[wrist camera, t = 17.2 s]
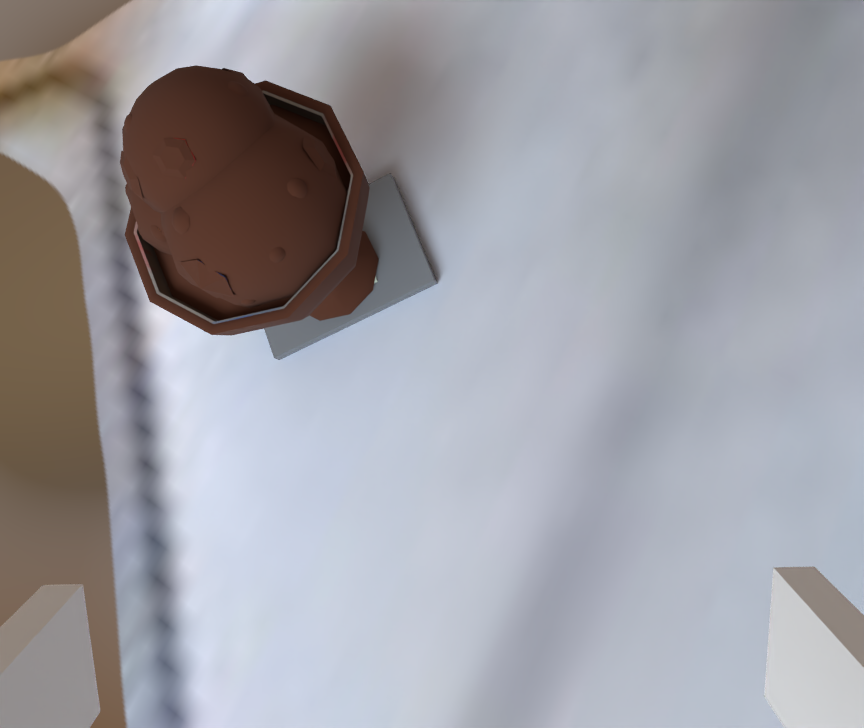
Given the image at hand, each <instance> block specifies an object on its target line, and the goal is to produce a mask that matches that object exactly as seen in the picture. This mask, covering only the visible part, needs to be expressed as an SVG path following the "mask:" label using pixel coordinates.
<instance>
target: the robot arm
mask: <svg viewBox="0 0 864 728" xmlns="http://www.w3.org/2000/svg"><path fill="white" fill-rule="evenodd" d="M764 697H765V698H766V700H767V702H768V703H769V705H770V706H771V708H772V709H773V711H774V712H775V714H776V715H777V717H778V718H779V720H780V722H781V723H782V725H783V726H784V728H864V615H863V614H862V613H861V612H860V611H859V610H858V609H857V608H856V607H855V606H854V605H853V604H852V603H851V602H850V601H849V600H848V599H847V598H846V597H845V596H844V595H842V594H841V593H840V592H839V591H838V590H837V589H836V588H835V587H834V586H833V585H832V584H831V583H830V582H829V581H828V580H827V579H826V578H825V577H824V576H823V575H822V574H821V573H820V572H819V571H818V570H817V569H816V568H815V567H779V568H773V582H772V596H771V610H770V624H769V638H768V652H767V666H766V679H765V693H764ZM99 712H100V706H99V698H98V691H97V684H96V676H95V669H94V662H93V655H92V648H91V641H90V633H89V626H88V619H87V612H86V605H85V597H84V590H83V584H75V585H73V584H71V585H43V586H42V587H41V588H40V589H39V590H38V591H37V592H36V593H35V594H34V595H32V597H31V598H30V599H28V600H27V601H26V602H25V603H24V604H23V605H22V606H21V607H20V608H19V609H18V610H17V611H16V613H14V614H13V615H12V616H11V617H10V618H9V619H8V620H7V621H6V622H5V624H3V625H2V626H1V627H0V728H90V726H91V725H92V723H93V722H94V720H95V719H96V717H97V715H98V714H99Z"/></svg>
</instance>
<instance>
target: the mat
mask: <svg viewBox="0 0 864 728" xmlns="http://www.w3.org/2000/svg"><path fill="white" fill-rule="evenodd" d="M369 187H370V189H369V196H368V203H367V208H366V214H365V219H364V224H363V229H362V231H365V232H366V234H367V236H368V238H369V240H370V242H371V244H372V246H373V248H374V250H375V252H376V254H377V256H378V258H379V259H378V265H377V270H376V276H375V281H374V286H373V291H372V292H371V293H370V294H369V295H368V296H367V297H366V298H365V299H364V300H363V301H362V302H361V303H360V304H359V305H358V306H357V308H356V309H355V310H354V311H353V312H352V313H351V314H349V315H344V316H340V317H335V318H331V319H326V320H321V321H319V320H317V319H315V318H313V317H311V316H308V317H306V318H304V319H303V320H300V321H295V322H291V323H286V324H281V325H277V326H272V327H268V328H264V329H265V332H266V335H267V338H268V341H269V344H270V347H271V350H272V353H273V356H274V358H276V359H278V360H280V359H282V358H284V357H286V356H288V355H290V354H293V353H295V352H297V351H299V350H301V349H303V348H305V347H307V346H309V345H311V344H313V343H315V342H317V341H319V340H321V339H324V338H326V337H328V336H330V335H332V334H334V333H336V332H338V331H340V330H342V329H344V328H346V327H348V326H350V325H352V324H355V323H357V322H359V321H361V320H363V319H365V318H367V317H369V316H371V315H373V314H375V313H377V312H379V311H381V310H383V309H386V308H388V307H390V306H392V305H394V304H396V303H398V302H400V301H402V300H404V299H406V298H408V297H410V296H412V295H415V294H417V293H419V292H421V291H423V290H425V289H427V288H429V287H431V286H433V285H435V284H437V281H436V278H435V276H434V273H433V271H432V269H431V266H430V264H429V261H428V259H427V257H426V254H425V252H424V249H423V247H422V245H421V242H420V240H419V237H418V235H417V232H416V230H415V228H414V225H413V223H412V220H411V218H410V216H409V213H408V211H407V208H406V206H405V204H404V201H403V199H402V196H401V194H400V192H399V189H398V187H397V184H396V182H395V180H394V177H393V176H392V175H391V174H388V175H386V176H384V177H382V178H380V179H378V180H376V181H374V182H373V183H371V184H369Z"/></svg>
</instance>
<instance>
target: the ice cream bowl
mask: <svg viewBox="0 0 864 728" xmlns="http://www.w3.org/2000/svg"><path fill="white" fill-rule="evenodd" d="M122 130H123V151H121V159H120V164H121V168H122V172H123V175H124V177H125V179H126V182H127V185H126V187H125V189H126V194H127V196H128V199H129V202H130V204H131V210H130V215H129V219H128V223H127V228H126V232H125V237H126V239H127V242H128V245H129V247H130V250H131V253H132V255H133V258H134V260H135V263H136V266H137V268H138V271H139V274H140V276H141V279H142V282H143V284H144V287H145V290H146V292H147V295H148V298H149V300H150V302H152V303H154V304H156V305H158V306H159V307H161V308H163V309H165V310H167V311H169V312H170V313H172V314H174V315H176V316H178V317H180V318H182V319H183V320H185V321H187V322H189V323H191V324H193V325H195V326H196V327H198V328H200V329H202V330H204V331H206V332H208V333H209V334H211V335H235V334H240V333H245V332H249V331H254V330H258V329H263V328H268V327H272V326H277V325H281V324H286V323H291V322H295V321H300V320H303V319H304V318H306V317H308V316H311V317H313V318H315V319H317V320H319V321H321V320H326V319H331V318H335V317H340V316H344V315H349V314H351V313H352V312H353V311H354V310H355V309H356V308H357V306H358V305H359V304H360V303H361V302H362V301H363V300H364V299H365V298H366V297H367V296H368V295H369V294H370V293H371V292H372V291H373V286H374V281H375V276H376V270H377V265H378V259H379V258H378V256H377V254H376V252H375V250H374V248H373V246H372V244H371V242H370V240H369V238H368V236H367V234H366V232H365V231H362V229H363V224H364V219H365V214H366V208H367V203H368V196H369V189H370V187H369V185H368V182H367V180H366V177H365V175H364V172H363V170H362V168H361V166H360V164H359V162H358V160H357V158H356V156H355V154H354V152H353V150H352V148H351V146H350V144H349V142H348V140H347V138H346V136H345V134H344V132H343V130H342V128H341V126H340V124H339V122H338V120H337V118H336V116H335V114H334V112H333V110H332V108H331V106H330V105H327V104H325V103H322V102H320V101H317V100H314V99H312V98H309V97H307V96H304V95H301V94H299V93H296V92H294V91H291V90H289V89H286V88H283V87H281V86H278V85H276V84H273V83H270V82H268V81H263V82H259V83H256V84H254V83H253V82H251V81H250V80H248V79H247V78H246V76H245V75H244V74H243V73H241V72H237V71H233V70H229V69H225V68H223V69H222V70H221V69H217V68H209V67H202V66H191V67H184V68H178V69H175V70H173V71H172V72H170V73H168V74H167V75H165V76H163V77H161V78H160V79H158V80H156V81H154V82H153V83H152V84H151V85H149V86H148V87H147V88H146V89H145V90H144V91H143V93H142V94H141V95H140V96H139V97H138V98H137V99H136V101H135V103H134V105H133V107H132V110H131V112H130V114H129V115H128V116H127V117H126V119H125V122H124V127H123V129H122Z"/></svg>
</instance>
